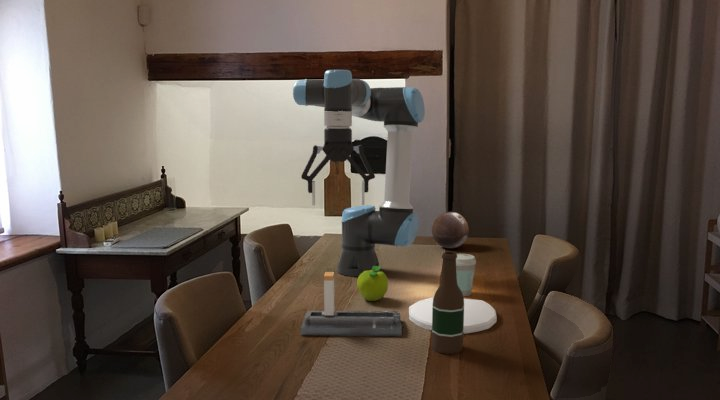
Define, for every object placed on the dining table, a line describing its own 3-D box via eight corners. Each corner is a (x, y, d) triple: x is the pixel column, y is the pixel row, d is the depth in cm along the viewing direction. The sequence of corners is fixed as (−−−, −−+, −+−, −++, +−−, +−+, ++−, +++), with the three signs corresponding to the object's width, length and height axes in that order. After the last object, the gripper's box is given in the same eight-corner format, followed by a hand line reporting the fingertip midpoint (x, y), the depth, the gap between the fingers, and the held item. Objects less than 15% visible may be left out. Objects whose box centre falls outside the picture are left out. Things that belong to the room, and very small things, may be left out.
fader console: (300, 335, 165) (300, 321, 164) (305, 319, 176) (305, 306, 176) (401, 336, 164) (401, 322, 163) (399, 320, 176) (399, 307, 175)
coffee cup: (475, 298, 195) (476, 260, 193) (447, 296, 197) (447, 259, 195) (475, 290, 203) (476, 253, 201) (448, 288, 205) (449, 252, 203)
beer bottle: (428, 343, 159) (430, 249, 156) (459, 342, 160) (461, 248, 156) (434, 355, 152) (436, 257, 148) (467, 354, 152) (469, 256, 149)
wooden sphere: (462, 253, 252) (463, 216, 250) (426, 250, 258) (427, 213, 256) (472, 246, 265) (473, 210, 263) (438, 242, 272) (438, 208, 269)
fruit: (391, 296, 197) (391, 265, 195) (382, 305, 188) (382, 273, 187) (363, 293, 200) (363, 262, 198) (353, 302, 191) (353, 270, 190)
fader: (321, 321, 168) (320, 276, 166) (322, 316, 172) (322, 271, 170) (336, 321, 168) (336, 276, 166) (337, 316, 172) (337, 272, 170)
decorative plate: (420, 287, 194) (503, 296, 185) (420, 300, 194) (502, 309, 186) (396, 313, 171) (489, 324, 162) (396, 327, 171) (489, 339, 163)
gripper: (291, 128, 169) (292, 207, 172) (385, 128, 171) (384, 206, 174) (292, 127, 176) (293, 202, 179) (381, 127, 178) (381, 201, 181)
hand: (338, 204), depth 177 cm, fingers open, 13 cm apart
